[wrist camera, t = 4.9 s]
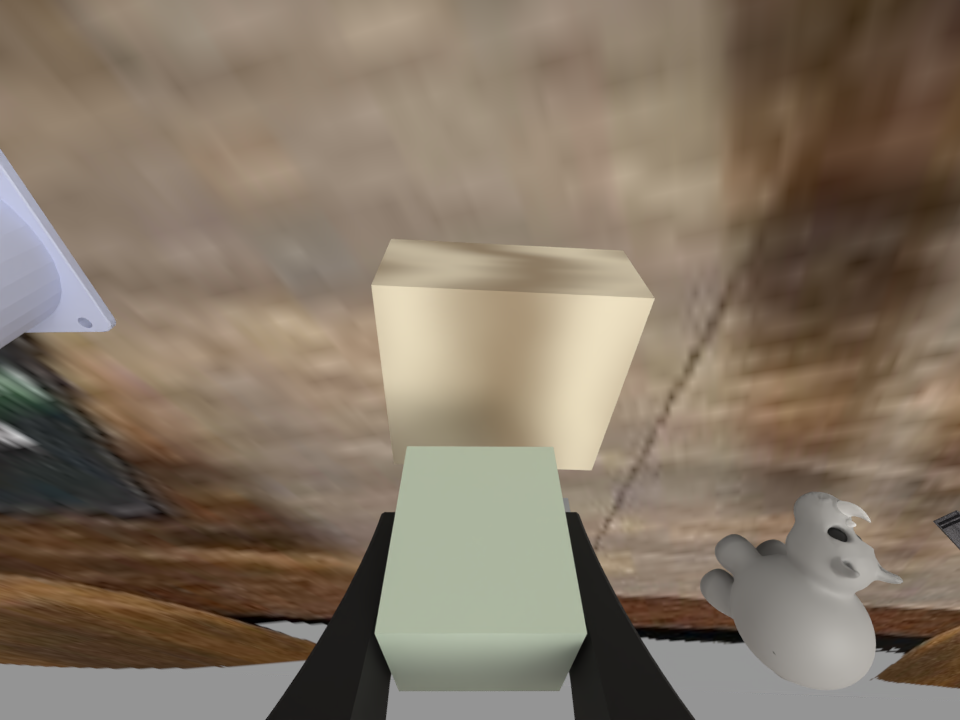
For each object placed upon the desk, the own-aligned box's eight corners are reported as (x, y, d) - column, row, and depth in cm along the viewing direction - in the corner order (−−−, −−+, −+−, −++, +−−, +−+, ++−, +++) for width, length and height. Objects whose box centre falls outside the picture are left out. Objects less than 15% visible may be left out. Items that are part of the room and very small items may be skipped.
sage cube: (419, 523, 15) (399, 691, 11) (407, 446, 13) (374, 633, 9) (538, 524, 15) (559, 691, 11) (553, 447, 13) (586, 633, 9)
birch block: (406, 401, 21) (393, 464, 18) (392, 235, 16) (371, 285, 13) (575, 407, 22) (591, 470, 19) (621, 247, 16) (654, 298, 13)
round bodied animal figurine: (831, 469, 29) (987, 561, 21) (759, 600, 32) (870, 724, 24) (747, 453, 28) (878, 545, 20) (680, 592, 31) (769, 719, 23)
